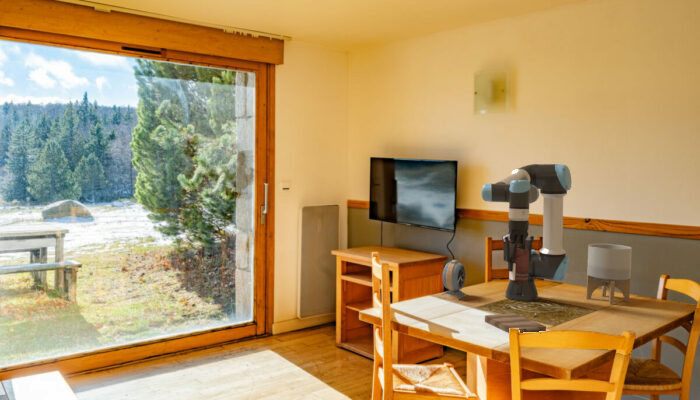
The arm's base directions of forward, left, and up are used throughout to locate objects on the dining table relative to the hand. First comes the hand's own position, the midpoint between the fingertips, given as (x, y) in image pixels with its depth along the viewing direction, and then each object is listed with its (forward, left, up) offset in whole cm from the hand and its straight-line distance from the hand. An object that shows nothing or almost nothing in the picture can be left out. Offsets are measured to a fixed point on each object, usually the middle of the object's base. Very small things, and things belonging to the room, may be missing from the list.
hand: (516, 279), depth 214 cm
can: (0, +1, -2) cm, 2 cm away
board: (+1, 0, -19) cm, 19 cm away
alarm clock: (-53, +3, -19) cm, 56 cm away
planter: (-27, +72, -19) cm, 79 cm away
